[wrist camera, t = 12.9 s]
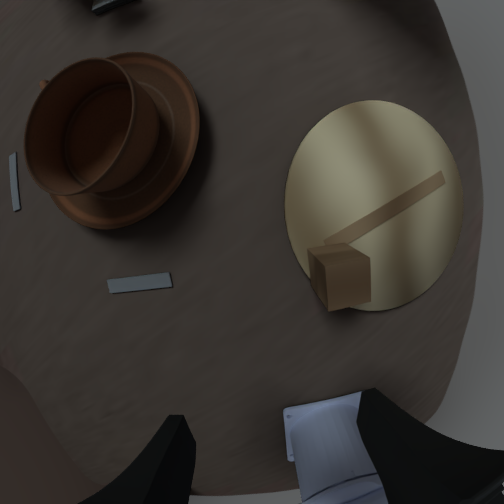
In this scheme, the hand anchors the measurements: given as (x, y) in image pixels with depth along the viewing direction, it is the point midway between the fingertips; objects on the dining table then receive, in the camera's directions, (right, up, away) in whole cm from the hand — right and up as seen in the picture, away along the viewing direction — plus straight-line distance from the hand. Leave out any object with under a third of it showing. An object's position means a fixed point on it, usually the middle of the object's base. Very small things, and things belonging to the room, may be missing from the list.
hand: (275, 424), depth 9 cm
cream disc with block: (+9, +10, +8) cm, 15 cm away
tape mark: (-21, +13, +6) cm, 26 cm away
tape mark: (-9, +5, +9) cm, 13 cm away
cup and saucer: (-10, +15, +7) cm, 19 cm away
